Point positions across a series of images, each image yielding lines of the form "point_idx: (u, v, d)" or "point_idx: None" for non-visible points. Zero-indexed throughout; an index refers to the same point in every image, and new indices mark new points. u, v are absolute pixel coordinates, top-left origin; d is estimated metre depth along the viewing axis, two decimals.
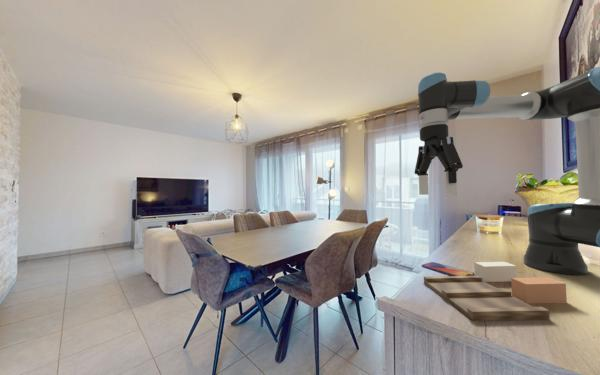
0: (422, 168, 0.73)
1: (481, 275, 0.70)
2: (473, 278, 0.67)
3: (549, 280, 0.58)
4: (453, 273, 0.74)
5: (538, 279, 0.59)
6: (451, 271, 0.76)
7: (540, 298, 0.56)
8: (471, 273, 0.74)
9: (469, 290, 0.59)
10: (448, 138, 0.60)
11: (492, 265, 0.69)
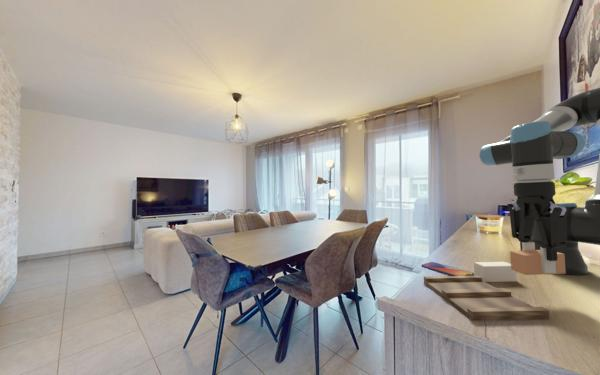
0: (525, 231, 0.60)
1: (481, 275, 0.70)
2: (473, 278, 0.67)
3: None
4: (453, 273, 0.74)
5: (537, 251, 0.59)
6: (450, 271, 0.76)
7: (539, 269, 0.56)
8: (471, 273, 0.74)
9: (469, 290, 0.59)
10: (564, 210, 0.51)
11: (491, 265, 0.69)
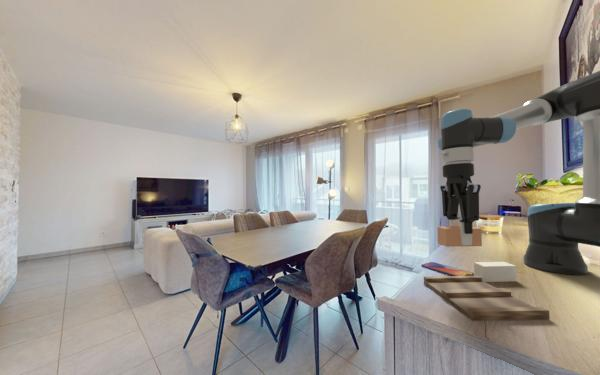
0: (451, 209, 0.66)
1: (481, 275, 0.70)
2: (473, 278, 0.67)
3: None
4: (452, 273, 0.74)
5: None
6: (450, 271, 0.76)
7: (458, 241, 0.62)
8: (470, 273, 0.74)
9: (469, 290, 0.59)
10: (475, 187, 0.58)
11: (491, 265, 0.69)
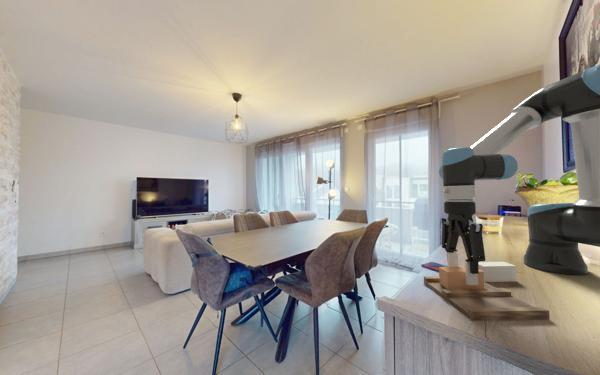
0: (450, 243, 0.67)
1: None
2: None
3: None
4: None
5: (462, 268, 0.65)
6: None
7: (460, 284, 0.62)
8: None
9: (469, 290, 0.59)
10: (478, 226, 0.57)
11: (491, 265, 0.69)
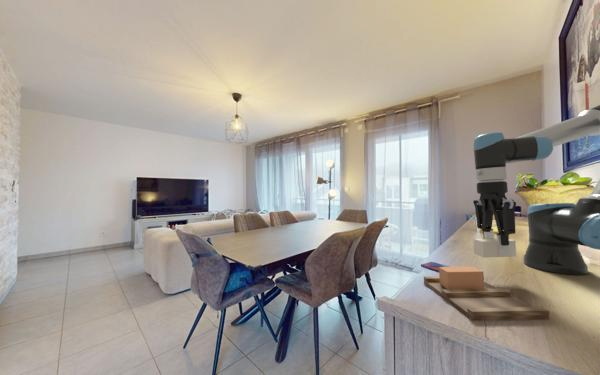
0: (486, 222, 0.73)
1: (480, 251, 0.70)
2: None
3: (471, 268, 0.64)
4: None
5: (462, 268, 0.65)
6: None
7: (460, 284, 0.62)
8: None
9: (469, 290, 0.59)
10: (511, 204, 0.64)
11: (490, 240, 0.69)
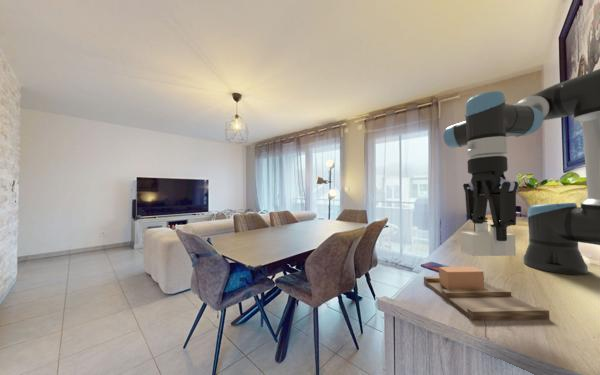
0: (478, 211, 0.56)
1: (468, 247, 0.53)
2: None
3: (471, 268, 0.64)
4: None
5: (462, 268, 0.65)
6: None
7: (460, 284, 0.62)
8: None
9: (469, 290, 0.59)
10: (512, 185, 0.48)
11: (482, 234, 0.52)
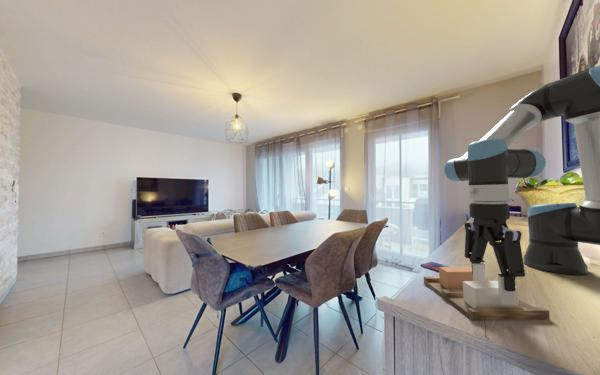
0: (476, 253, 0.57)
1: (471, 299, 0.53)
2: None
3: (471, 268, 0.64)
4: None
5: (462, 268, 0.65)
6: None
7: (460, 284, 0.62)
8: None
9: None
10: (515, 234, 0.47)
11: (485, 287, 0.52)
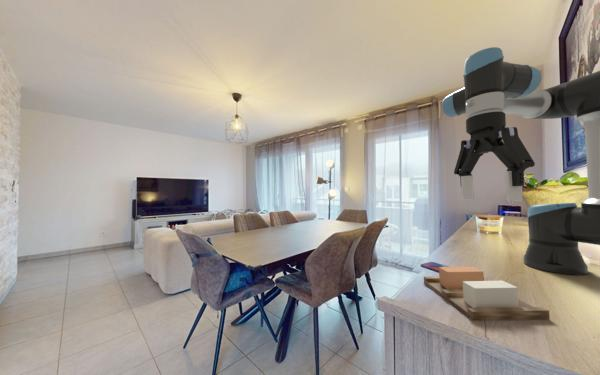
0: (466, 167, 0.60)
1: (471, 299, 0.53)
2: None
3: (471, 268, 0.64)
4: None
5: (462, 268, 0.65)
6: None
7: (460, 284, 0.62)
8: None
9: None
10: (511, 129, 0.47)
11: (485, 287, 0.52)
